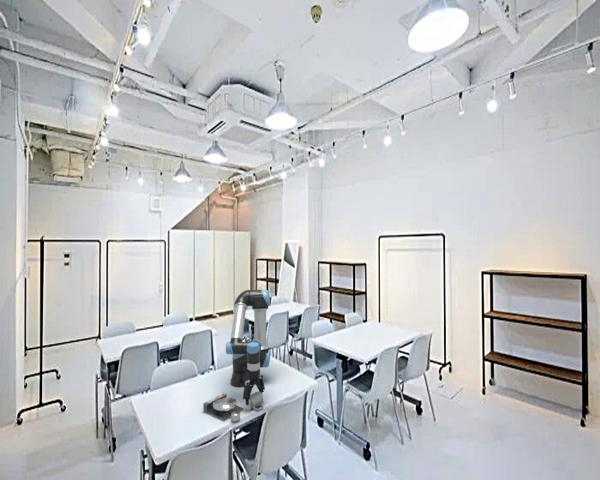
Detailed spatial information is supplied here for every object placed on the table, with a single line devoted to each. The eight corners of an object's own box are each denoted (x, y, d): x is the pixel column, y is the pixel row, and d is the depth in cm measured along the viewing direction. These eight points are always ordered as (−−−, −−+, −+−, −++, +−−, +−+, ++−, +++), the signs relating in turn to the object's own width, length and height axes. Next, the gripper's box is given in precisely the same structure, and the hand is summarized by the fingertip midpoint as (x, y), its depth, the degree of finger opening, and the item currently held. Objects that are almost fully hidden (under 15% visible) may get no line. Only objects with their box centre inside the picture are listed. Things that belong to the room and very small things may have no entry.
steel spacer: (235, 417, 186) (235, 410, 186) (242, 419, 183) (241, 412, 183) (229, 421, 182) (229, 414, 182) (235, 424, 179) (235, 416, 179)
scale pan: (226, 399, 202) (226, 395, 202) (242, 406, 194) (242, 401, 194) (207, 409, 191) (207, 404, 191) (223, 417, 183) (223, 412, 183)
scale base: (223, 401, 205) (223, 392, 205) (243, 409, 194) (243, 400, 194) (203, 411, 193) (203, 402, 193) (223, 421, 182) (223, 411, 182)
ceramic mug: (244, 407, 197) (244, 394, 197) (255, 402, 203) (255, 389, 203) (255, 413, 190) (255, 400, 190) (266, 408, 196) (266, 395, 196)
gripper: (261, 362, 209) (262, 397, 209) (235, 373, 191) (236, 412, 191) (270, 364, 204) (271, 400, 204) (244, 376, 187) (245, 416, 187)
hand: (254, 406), depth 198 cm, fingers open, 9 cm apart
